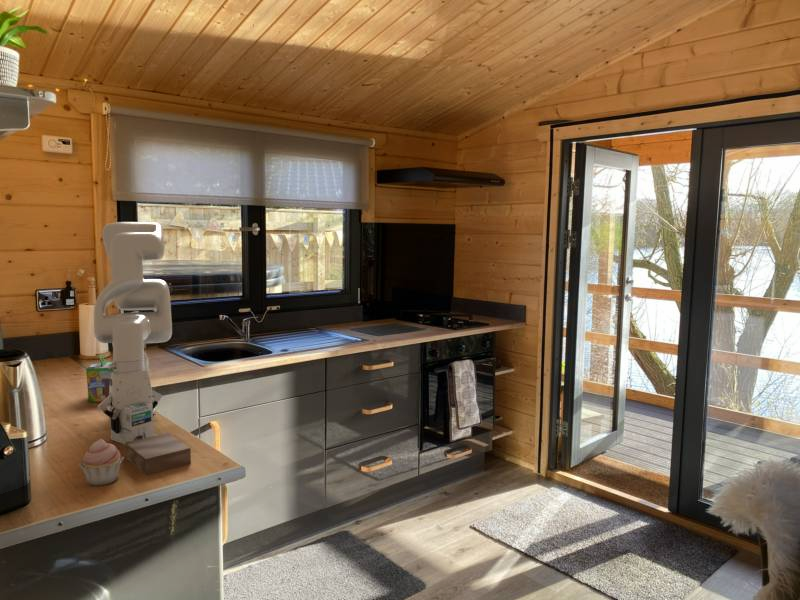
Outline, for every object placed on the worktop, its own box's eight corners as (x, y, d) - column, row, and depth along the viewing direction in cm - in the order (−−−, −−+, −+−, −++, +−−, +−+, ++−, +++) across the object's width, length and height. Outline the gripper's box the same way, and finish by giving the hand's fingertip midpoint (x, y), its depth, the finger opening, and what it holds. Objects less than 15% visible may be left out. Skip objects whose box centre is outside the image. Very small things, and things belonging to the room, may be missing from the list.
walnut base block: (125, 457, 160) (125, 442, 159) (168, 447, 167) (168, 432, 167) (146, 475, 150) (145, 459, 149) (190, 463, 157) (190, 448, 156)
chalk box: (117, 401, 206) (115, 357, 204) (87, 403, 204) (85, 358, 202) (123, 393, 215) (121, 351, 213) (94, 395, 213) (92, 352, 211)
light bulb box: (155, 441, 171) (153, 403, 170) (132, 448, 166) (130, 409, 164) (132, 433, 177) (130, 396, 176) (109, 440, 172) (107, 401, 170)
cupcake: (131, 472, 151) (130, 432, 150) (112, 489, 142) (110, 447, 140) (93, 471, 151) (91, 431, 150) (72, 488, 142) (69, 445, 141)
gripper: (99, 373, 160) (102, 439, 163) (166, 363, 172) (169, 425, 174) (90, 367, 166) (93, 432, 168) (156, 358, 177) (158, 418, 180)
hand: (132, 428), depth 171 cm, fingers closed on light bulb box, 7 cm apart
